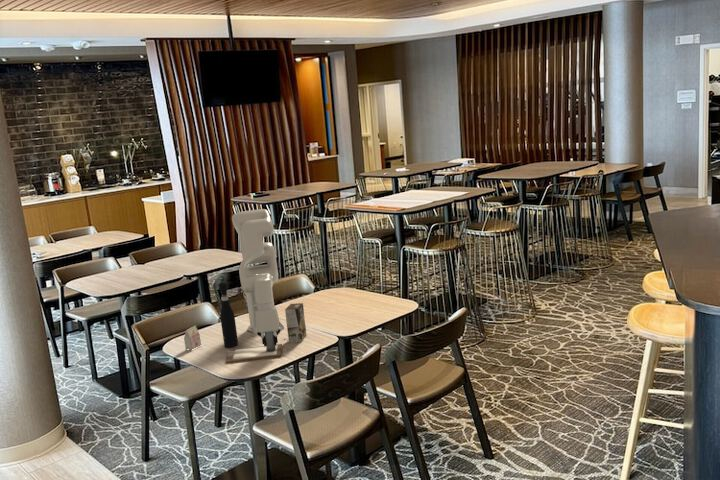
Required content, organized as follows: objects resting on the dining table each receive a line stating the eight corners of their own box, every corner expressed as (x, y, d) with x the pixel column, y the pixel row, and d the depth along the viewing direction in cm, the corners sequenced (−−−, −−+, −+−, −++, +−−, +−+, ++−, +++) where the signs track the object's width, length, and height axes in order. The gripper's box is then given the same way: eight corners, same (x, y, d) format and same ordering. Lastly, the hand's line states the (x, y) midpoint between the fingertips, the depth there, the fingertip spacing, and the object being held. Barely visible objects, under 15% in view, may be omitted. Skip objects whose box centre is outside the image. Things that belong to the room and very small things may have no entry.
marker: (266, 349, 298) (263, 323, 296) (275, 347, 298) (272, 322, 296) (266, 352, 294) (263, 326, 291) (275, 351, 294) (272, 325, 292)
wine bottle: (240, 343, 312) (232, 281, 306) (234, 348, 306) (225, 285, 300) (228, 343, 314) (220, 281, 308) (221, 348, 308) (213, 285, 302)
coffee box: (301, 342, 306) (297, 308, 303) (288, 342, 307) (284, 309, 304) (307, 335, 314) (303, 302, 311) (294, 335, 316) (290, 303, 313)
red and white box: (185, 350, 310) (182, 330, 308) (195, 345, 316) (192, 325, 314) (192, 351, 308) (189, 330, 306) (201, 345, 314) (198, 325, 312)
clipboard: (229, 352, 302) (228, 347, 302) (282, 345, 304) (281, 341, 303) (225, 363, 288) (225, 359, 288) (281, 357, 290) (280, 352, 289)
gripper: (245, 310, 288) (251, 350, 291) (284, 305, 289) (289, 345, 292) (247, 305, 295) (252, 344, 299) (284, 301, 296) (289, 340, 300)
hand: (270, 344), depth 296 cm, fingers closed on marker, 4 cm apart
